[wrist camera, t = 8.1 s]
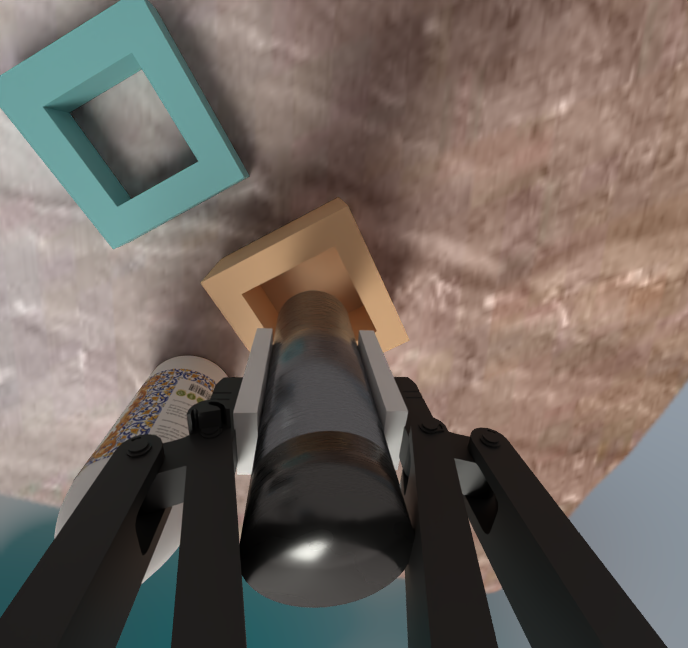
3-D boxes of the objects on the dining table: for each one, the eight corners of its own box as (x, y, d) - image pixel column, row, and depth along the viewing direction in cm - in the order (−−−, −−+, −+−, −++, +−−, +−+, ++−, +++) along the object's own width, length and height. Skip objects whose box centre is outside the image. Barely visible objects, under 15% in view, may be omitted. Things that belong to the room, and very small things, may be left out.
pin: (263, 311, 21) (200, 540, 8) (329, 277, 20) (373, 464, 8) (299, 366, 23) (294, 626, 10) (360, 337, 22) (438, 567, 9)
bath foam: (162, 341, 29) (-73, 636, 11) (244, 368, 31) (160, 658, 13) (142, 405, 31) (-80, 737, 13) (219, 426, 33) (118, 743, 15)
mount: (17, 94, 21) (-17, 86, 19) (156, 9, 20) (137, -11, 18) (130, 241, 25) (113, 249, 23) (249, 176, 25) (244, 177, 22)
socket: (221, 258, 27) (200, 282, 21) (338, 197, 26) (348, 205, 20) (287, 358, 31) (283, 400, 25) (390, 308, 30) (409, 340, 24)
